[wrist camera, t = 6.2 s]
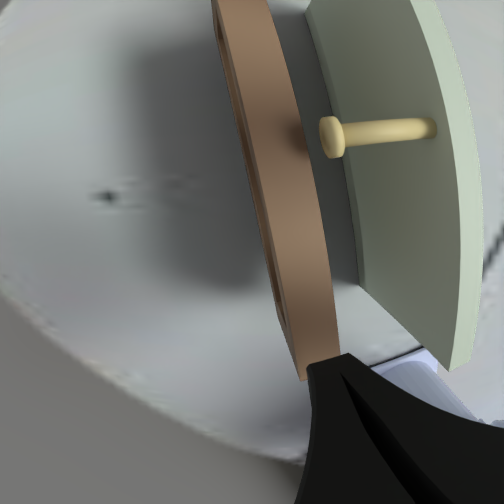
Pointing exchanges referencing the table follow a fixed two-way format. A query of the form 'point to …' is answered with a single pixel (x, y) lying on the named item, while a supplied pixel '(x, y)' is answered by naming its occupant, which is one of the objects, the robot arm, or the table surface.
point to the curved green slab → (406, 164)
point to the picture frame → (279, 178)
